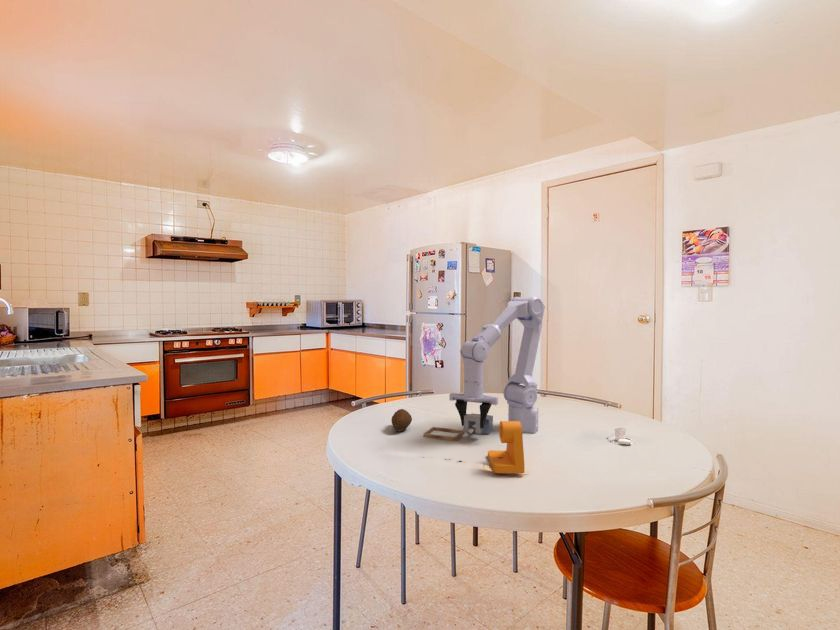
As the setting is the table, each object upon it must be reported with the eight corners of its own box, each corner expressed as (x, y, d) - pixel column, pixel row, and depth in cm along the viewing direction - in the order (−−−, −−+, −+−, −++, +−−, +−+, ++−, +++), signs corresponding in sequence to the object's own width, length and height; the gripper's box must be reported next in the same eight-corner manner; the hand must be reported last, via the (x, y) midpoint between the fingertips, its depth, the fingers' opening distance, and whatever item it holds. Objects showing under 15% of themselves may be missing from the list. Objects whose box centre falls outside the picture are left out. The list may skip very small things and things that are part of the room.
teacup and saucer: (632, 448, 128) (632, 435, 128) (603, 443, 133) (603, 430, 133) (636, 440, 136) (636, 427, 136) (608, 436, 140) (608, 423, 140)
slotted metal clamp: (482, 431, 131) (482, 415, 131) (479, 433, 129) (480, 417, 129) (466, 429, 133) (466, 413, 133) (463, 431, 131) (463, 415, 131)
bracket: (487, 460, 117) (487, 415, 116) (514, 460, 117) (514, 416, 116) (494, 476, 106) (495, 427, 105) (524, 476, 106) (525, 427, 106)
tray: (464, 437, 136) (464, 430, 136) (455, 445, 128) (455, 438, 128) (433, 433, 140) (433, 426, 140) (423, 440, 132) (423, 433, 132)
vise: (493, 433, 140) (493, 415, 140) (481, 447, 126) (481, 427, 126) (472, 430, 143) (472, 412, 143) (458, 444, 129) (458, 424, 129)
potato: (411, 424, 149) (411, 404, 149) (412, 435, 138) (412, 413, 138) (391, 424, 149) (391, 404, 149) (391, 435, 138) (391, 413, 137)
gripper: (446, 381, 130) (445, 426, 130) (494, 385, 124) (493, 432, 124) (453, 377, 136) (453, 420, 137) (500, 381, 130) (499, 426, 131)
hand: (472, 426), depth 131 cm, fingers closed on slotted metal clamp, 5 cm apart
